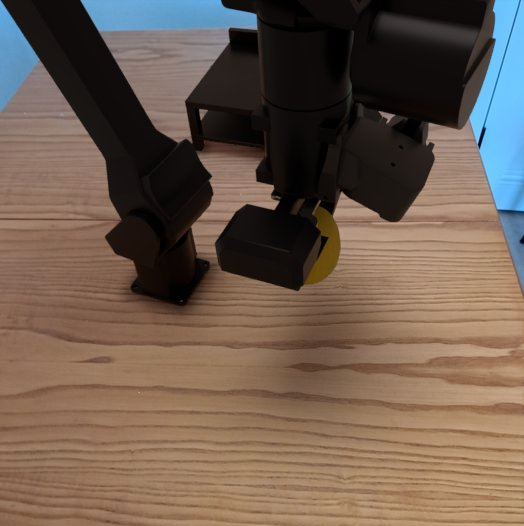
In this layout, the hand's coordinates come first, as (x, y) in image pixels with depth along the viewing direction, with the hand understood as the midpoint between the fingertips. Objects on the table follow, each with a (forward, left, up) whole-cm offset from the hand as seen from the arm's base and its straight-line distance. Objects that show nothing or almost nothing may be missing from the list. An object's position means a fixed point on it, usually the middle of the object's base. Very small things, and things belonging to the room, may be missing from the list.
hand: (306, 265), depth 49 cm
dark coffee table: (+32, +18, -9) cm, 37 cm away
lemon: (0, 0, -2) cm, 2 cm away
